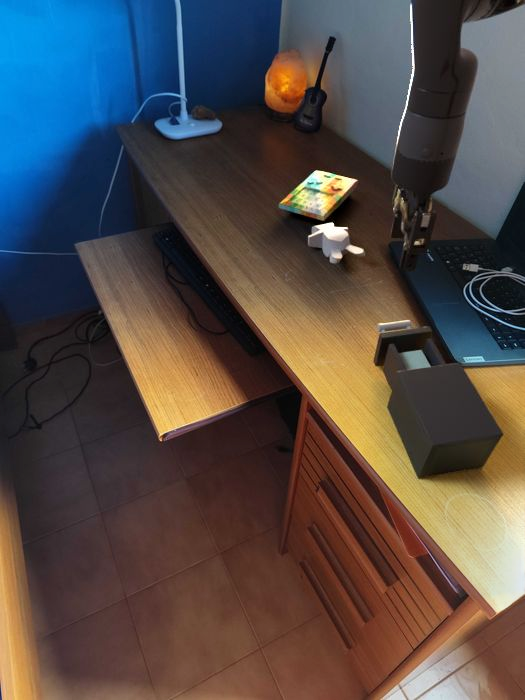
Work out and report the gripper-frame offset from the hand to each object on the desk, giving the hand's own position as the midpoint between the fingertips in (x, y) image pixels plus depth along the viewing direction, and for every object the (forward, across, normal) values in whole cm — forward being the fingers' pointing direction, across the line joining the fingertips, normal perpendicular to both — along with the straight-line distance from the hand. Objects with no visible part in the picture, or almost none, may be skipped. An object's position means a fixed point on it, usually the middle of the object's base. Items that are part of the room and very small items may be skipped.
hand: (401, 252), depth 71 cm
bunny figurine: (+19, +27, +7) cm, 34 cm away
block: (+16, -11, -3) cm, 20 cm away
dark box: (+18, -21, -5) cm, 28 cm away
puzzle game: (+19, +47, +9) cm, 51 cm away
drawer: (+17, -9, -2) cm, 20 cm away
